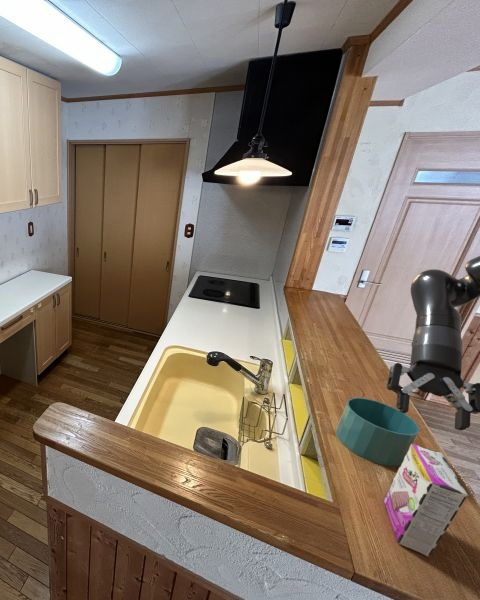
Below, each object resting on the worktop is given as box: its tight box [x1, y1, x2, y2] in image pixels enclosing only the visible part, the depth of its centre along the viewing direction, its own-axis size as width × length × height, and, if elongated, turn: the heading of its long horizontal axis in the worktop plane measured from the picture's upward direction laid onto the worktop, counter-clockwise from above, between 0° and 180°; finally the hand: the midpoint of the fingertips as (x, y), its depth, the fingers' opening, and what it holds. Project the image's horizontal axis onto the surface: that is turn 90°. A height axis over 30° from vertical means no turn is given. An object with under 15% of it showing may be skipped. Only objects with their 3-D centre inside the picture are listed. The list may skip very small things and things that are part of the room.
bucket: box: [335, 397, 421, 467], centre depth 86 cm, size 14×14×10 cm
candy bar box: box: [382, 443, 469, 558], centre depth 63 cm, size 11×5×16 cm, turn 150°
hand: (431, 420), depth 67 cm, fingers open, 8 cm apart
